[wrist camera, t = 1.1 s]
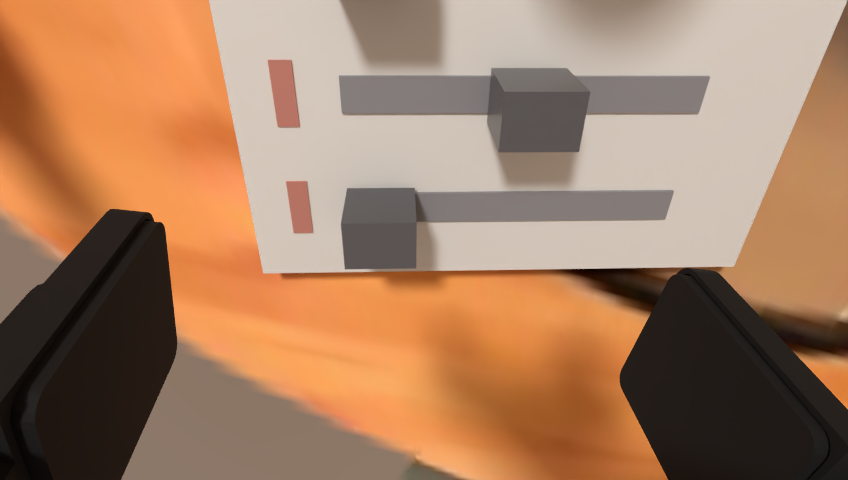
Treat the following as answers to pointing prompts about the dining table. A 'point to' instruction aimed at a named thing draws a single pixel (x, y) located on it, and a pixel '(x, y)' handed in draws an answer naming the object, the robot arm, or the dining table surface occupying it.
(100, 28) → the dining table surface
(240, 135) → the switch panel
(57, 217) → the dining table surface
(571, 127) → the handle
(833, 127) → the dining table surface
